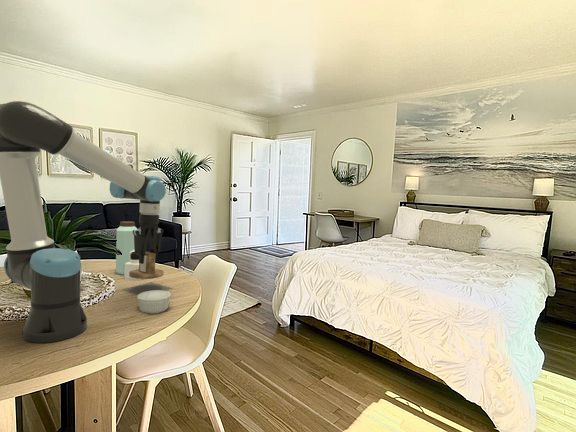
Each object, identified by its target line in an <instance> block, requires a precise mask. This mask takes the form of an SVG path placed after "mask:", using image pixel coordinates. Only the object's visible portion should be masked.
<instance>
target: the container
mask: <svg viewBox="0 0 576 432" xmlns="http://www.w3.org/2000/svg"><path fill="white" fill-rule="evenodd" d="M129 261H130V262H127V263H125V275H124V280H131V281H132V280H134V281H142V280H143V279H136V278H132V277H130V276H129V272H130V271H132V270H136V269H139V255H137V254H135V250H134V251H131V252H130V259H129Z"/></svg>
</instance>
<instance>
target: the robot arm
mask: <svg viewBox="0 0 576 432" xmlns="http://www.w3.org/2000/svg"><path fill="white" fill-rule="evenodd" d="M41 150H42V151H44V152H47V153H49V154H50V155H52V156H55V155H56V156H57V155H60V156H62V157H64V158H65V159H67V160H70V161H72V162H73V163H75V164H77V165H79V166H81V167H82V168H84V169H86V170H89V172H92V173H94V174H95V175H98V176H100V177H102V178H104V179H106V180H107V181H109V182H110V184H109V194H110V195H111V196H112V197H113V198H115V199H125V200H126V199H128V200H129V199H130V200H139V214H138V215H139V218H138V219H139V220H138V223H139V226H138V228H137V230H133V235H134V249H135V254H137V255H139V263H140V271H143V272H146V258H147V256H145V252H147V245H148V241H149V252H151V253H155V254H156V256H157V255H158V254H159V253H160V252H161V247H162V239H163V238H162V237H163V234H164V231H165V230H164V229H162V228H160V227H159V224H160V215H159V214H160V212H161V211H160V210H161V209H160V208H161V207H160V206H161V200H163V199H164V198H165V195H166V193H167V189H166V185H165V184H164V182H162V180H161V178H160V177H159V176H155V175H154V176H153V175H145V174H142V173H141V172H140V171H137V169H135V168H133V167H131V166H130V165H128V164H126V163H125V162H124V161H122V160H120V159H118V158H117V157H115V156H114V155H112V154H110V152H109V153H108V152H107V151H105V150H103V149H102V148H101V147H99V146H97V145H96V144H94V143H92V142H91V141H90V140H88V139H86V138H84V137H83V136H81V135H79V134H78V133H76V132H75V130H74V126H71V125H70V124H68V123H67V122H65V121H64V120H62V119H60V118H59V117H58V116H56V115H54V114H52V113H51V112H49V111H47V110H46V109H44V108H43V107H40V106H39V105H36V104H33V103H32V102H31V103H30V102H27V101H21V100H20V101H19V100H18V101H17V100H15V101H10V102H6V103H5V102H4V103H0V185H1V190H2V195H3V200H4V206H5V212H6V219H7V224H8V230H9V234H10V240H11V241H10V243H8V244H7V246H6V247H5V250H6V251H5V252H6V258H5V259H4V262H3V269H4V273H5V274H6V276H7V278H9V279H10V280H11V281H12V282H13V283H14V284H17V285H19V286H22V287H24V288H27V289H29V290H30V310H29V314H28V315H27V318H26V321H25V324H24V326H23V329H22V338H23V340H25V341H26V342H29V343H38V344H39V343H41V344H42V343H54V342H58V341H59V342H60V341H63V340H64V341H65V340H67V339H71V338H72V337H75V336H79V335H80V334H81V333H83V332H85V330H87V327H88V318H87V316H86V313H85V310H84V308H83V306H82V303H81V277H82V273H81V271H82V270H81V269H82V263H81V256H80V254H79V253H78V252H76V251H75V250H73V249H69V248H65V249H63V248H62V247H61V248H60V247H59V248H57V247H56V245H55V241H54V239H53V238H50V237H49V236H48V234H47V233H48V232H47V227H46V220H45V215H44V208H43V207H44V206H43V202H42V200H43V199H42V195H41V189H40V188H41V187H40V182H39V176H38V169H37V161H36V158H37V157H38V156H39V155H40V154H41Z"/></svg>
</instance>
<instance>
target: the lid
mask: <svg viewBox="0 0 576 432" xmlns="http://www.w3.org/2000/svg"><path fill="white" fill-rule="evenodd" d="M145 256H147V258H146V272H143V271H140V263H139V269H136V270H132V271H130V272H129V276H130V277H132V278H136V279H142V280H150V279H157V278H161V277H163V276H164V272H165V271H164V270H163V269H158V268H156V256H157V255H156V254H155V253H151V252H150V251H146V252H145Z"/></svg>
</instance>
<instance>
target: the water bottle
mask: <svg viewBox="0 0 576 432" xmlns="http://www.w3.org/2000/svg"><path fill="white" fill-rule="evenodd" d="M137 229H138V228H137V227H136V223H135V221H120V224H119V227H117V228H116V235H115V238H116V240H117V241H115V242H116V243H115V244H116V245H115V249H116V248H117V249H119V250H120V251H121V253H122V255H117V254H116V253H115V273H116V274H117V275H122V276H125V263H127V262H130V261H129V259H130V252H131V251H134V250H135V249H134V235H133V230H137Z"/></svg>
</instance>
